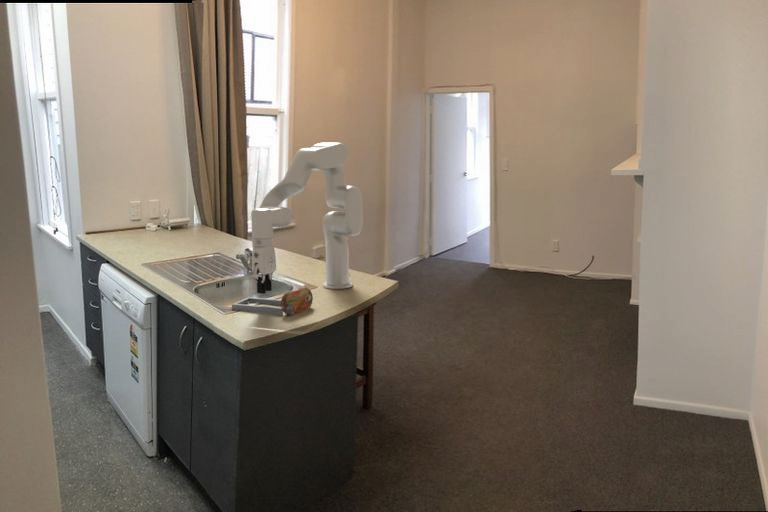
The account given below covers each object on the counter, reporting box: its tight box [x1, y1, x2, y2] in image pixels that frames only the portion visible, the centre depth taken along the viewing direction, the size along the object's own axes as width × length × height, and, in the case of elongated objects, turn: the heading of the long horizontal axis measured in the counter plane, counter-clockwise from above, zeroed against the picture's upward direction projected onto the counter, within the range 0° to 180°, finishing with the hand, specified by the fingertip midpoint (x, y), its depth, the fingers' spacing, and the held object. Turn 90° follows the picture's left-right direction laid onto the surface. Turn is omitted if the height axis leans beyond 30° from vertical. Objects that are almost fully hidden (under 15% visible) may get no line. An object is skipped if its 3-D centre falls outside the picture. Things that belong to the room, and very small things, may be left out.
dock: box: [231, 296, 284, 316], centre depth 216 cm, size 11×20×2 cm, turn 72°
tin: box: [280, 287, 314, 316], centre depth 212 cm, size 15×3×8 cm, turn 148°
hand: (264, 291), depth 215 cm, fingers open, 3 cm apart
